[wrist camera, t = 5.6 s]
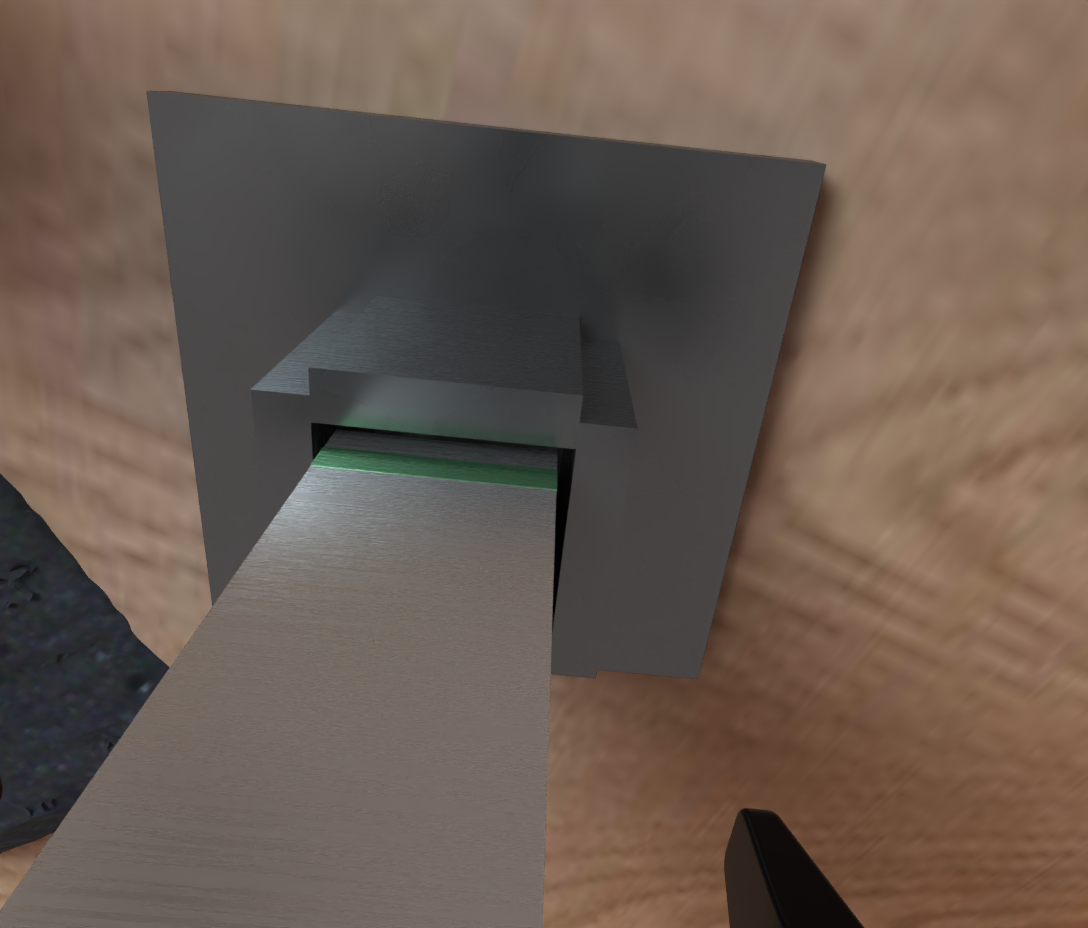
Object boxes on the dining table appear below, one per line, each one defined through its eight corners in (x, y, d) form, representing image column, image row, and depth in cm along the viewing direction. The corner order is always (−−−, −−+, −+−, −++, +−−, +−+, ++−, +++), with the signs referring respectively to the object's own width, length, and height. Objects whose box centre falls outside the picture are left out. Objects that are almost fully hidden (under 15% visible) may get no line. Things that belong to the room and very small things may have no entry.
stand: (812, 160, 16) (933, 192, 11) (692, 655, 22) (731, 831, 17) (170, 91, 16) (-33, 88, 11) (230, 611, 22) (121, 775, 17)
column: (558, 451, 13) (537, 1173, 4) (537, 627, 15) (492, 1396, 6) (335, 428, 13) (-149, 1117, 4) (341, 608, 15) (8, 1357, 6)
